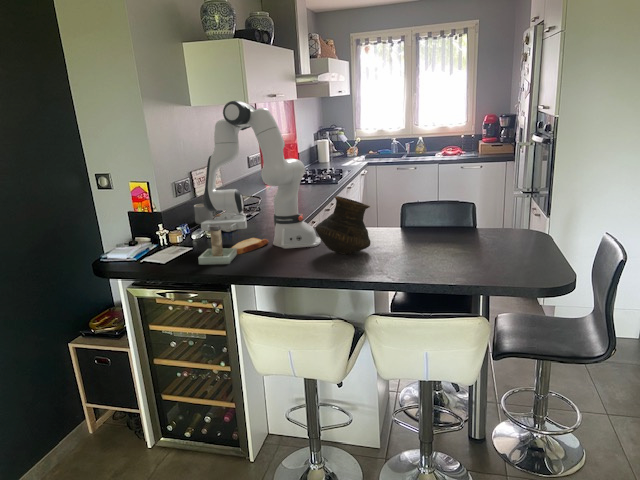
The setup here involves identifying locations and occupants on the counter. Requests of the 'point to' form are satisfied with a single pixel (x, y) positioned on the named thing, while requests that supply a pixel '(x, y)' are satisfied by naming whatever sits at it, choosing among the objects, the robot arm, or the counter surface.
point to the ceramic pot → (345, 227)
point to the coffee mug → (202, 213)
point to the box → (226, 259)
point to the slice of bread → (249, 245)
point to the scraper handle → (216, 241)
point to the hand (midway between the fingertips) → (219, 228)
